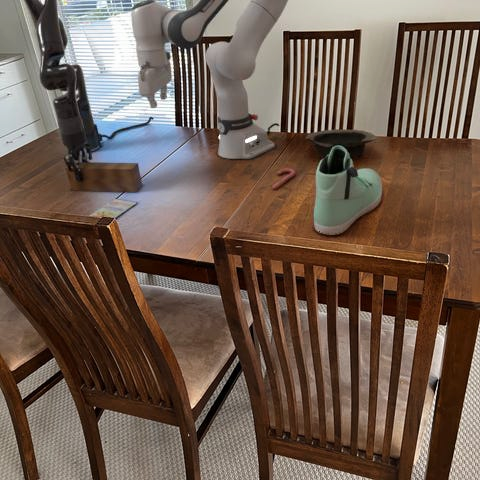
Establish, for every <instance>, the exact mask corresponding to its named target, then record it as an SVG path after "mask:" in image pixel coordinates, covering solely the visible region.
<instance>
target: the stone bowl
mask: <svg viewBox="0 0 480 480" xmlns="http://www.w3.org/2000/svg"><path fill="white" fill-rule="evenodd" d="M377 139H378V136H376V135H375V134H373V133H372V132H369V131H365V130H358V129H344V128H343V129H339V128H338V129H336V128H334V129H325V130H324V129H323V130H320V131H314V132H311V133H308V134H307V135H306V137H305V138H304V140H305V141H307V142H309V143H312V144H313V146H314V150H315V152H316V154H317V156H320V157H322V159H324V158H325V157H326V156H327V155H329V154H330V152H331V149H332V148H333V147H334V146H342V147H344V148H345V149H346V150H347V152H348V153H349V156H350V159H352V158H355V159H356V158H357V159H359V158H362V157H363V156H364V154H365V149H366V144H368V143H372V142H374V141H375V140H377Z"/></svg>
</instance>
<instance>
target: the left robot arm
mask: <svg viewBox="0 0 480 480" xmlns="http://www.w3.org/2000/svg"><path fill="white" fill-rule="evenodd" d="M23 2H24V4H25V5H26V7H27V10H28V12H29V15H30V17H31V20H32V23H33V26H34V29H35V32H36V33H35V34H36V39H37V43H38V47H39V53H40V63H39V81H40V84H41V86H42V87H43V89H45V90H47V91H56V90H58V91H59V92H66V93H64V94H61V95H58V96H56V97H55V98H54V99H53V101H52V103H53V108H54V112H55V115H56V120H57V126H58V130H59V134H60V137H61V141H62V144H63V146H64V147H66V148H67V155H63V160H64V162H65V165H66V167H68V170H69V172H74V174H75V178H76V181H77V182H82V181H83V176H82V173H81V166H80V165H81V164H82V162H91V161H92V160H93V153H92V152H96V151H97V150H99V149H100V148H102V142H103V141H104V140H103V138H106V139H107V140H111V139H113V138H114V136H115V135H116V134H117V133H120V132H123V131H127V130H131V129H134V128H138V127H139V128H141V127H144V126H147V125H148V124H151V121H152V120H154V117H153V116H150V117H148V120H147V121H146V122H143V123H138V124H134V125H129V126H127V127H122V128H119V129H117V130H114V131H113V132H112V133H111V134H110V136H109V135H107V134H102V133H99V129H98V125H97V123H95V121H94V116H93V113H92V108H91V104H90V99H89V96H88V95H89V94H88V92H87V86H86V80H85V75H84V71H83V68H82V67H81V65H80V64H76V63H75V64H70V63H61V60H62V59H63V58H64V57H65V55H66V52H65V51H66V49H67V46H68V43H69V42H68V40H69V39H68V35H67V32H66V29H65V26H64V22H63V21H62V19H61V18H60V17H59V9H58V0H44V3H42V1H40V0H23ZM75 164H77V167H76V165H75ZM71 166H72V168H71Z"/></svg>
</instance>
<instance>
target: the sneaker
mask: <svg viewBox="0 0 480 480" xmlns="http://www.w3.org/2000/svg"><path fill="white" fill-rule="evenodd" d="M317 165H318V166H317V168H316V172H315V201H314V207H313V225H314V229H315V231H316V232H318V233H320V234H323V235H326V236H327V235H328V236H336V235H339V234H342V233H344V232H345V231H347V230H348V229H349V228H350V227H351V226H352V225H353V224H354V222H356V221H357V220H358V219H359V218H360V217H362V216H363V215H365V214H367V213H370V212H372V210H374V209H375V208H377V207H378V205H380V203H381V200H382V196H383V184H382V183H383V182H382V179H381V176H380V175H379V173H378V172H377V171H376V170H374V169H372V168H367V167H365V168H358V169H357V168H355V167H354V161H353V159H352V158H351V159H350V156H349V153H348V152H347V150H346V149H345V148H344V147H342V146H334V147H333V148H332V149H331V152H330V154H329V155H327V156H326V157H325V158H324V159H323V158H322V159H321V160H320V161H319V163H318V164H317ZM343 230H344V231H343ZM319 231H320V232H319ZM322 232H323V233H322ZM339 232H340V233H339ZM326 233H327V234H326ZM328 233H329V234H328ZM335 233H337V234H335Z"/></svg>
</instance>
